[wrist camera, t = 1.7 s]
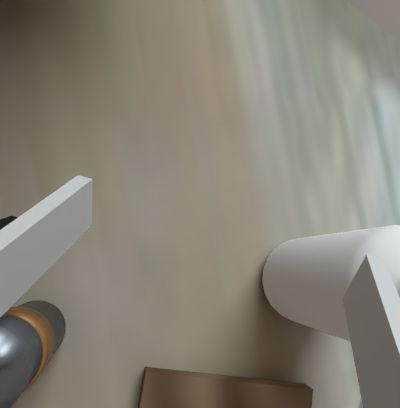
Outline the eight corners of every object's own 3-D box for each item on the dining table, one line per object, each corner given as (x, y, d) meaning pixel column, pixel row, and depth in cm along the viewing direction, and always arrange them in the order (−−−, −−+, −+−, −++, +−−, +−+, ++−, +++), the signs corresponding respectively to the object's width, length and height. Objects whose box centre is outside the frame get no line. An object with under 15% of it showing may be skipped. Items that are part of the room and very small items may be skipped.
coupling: (-7, 359, 28) (-97, 425, 17) (10, 294, 29) (-64, 315, 18) (59, 366, 29) (16, 433, 18) (73, 303, 30) (41, 327, 19)
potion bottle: (261, 323, 34) (405, 387, 16) (256, 239, 35) (384, 216, 18) (335, 318, 35) (535, 371, 18) (328, 238, 37) (508, 217, 20)
